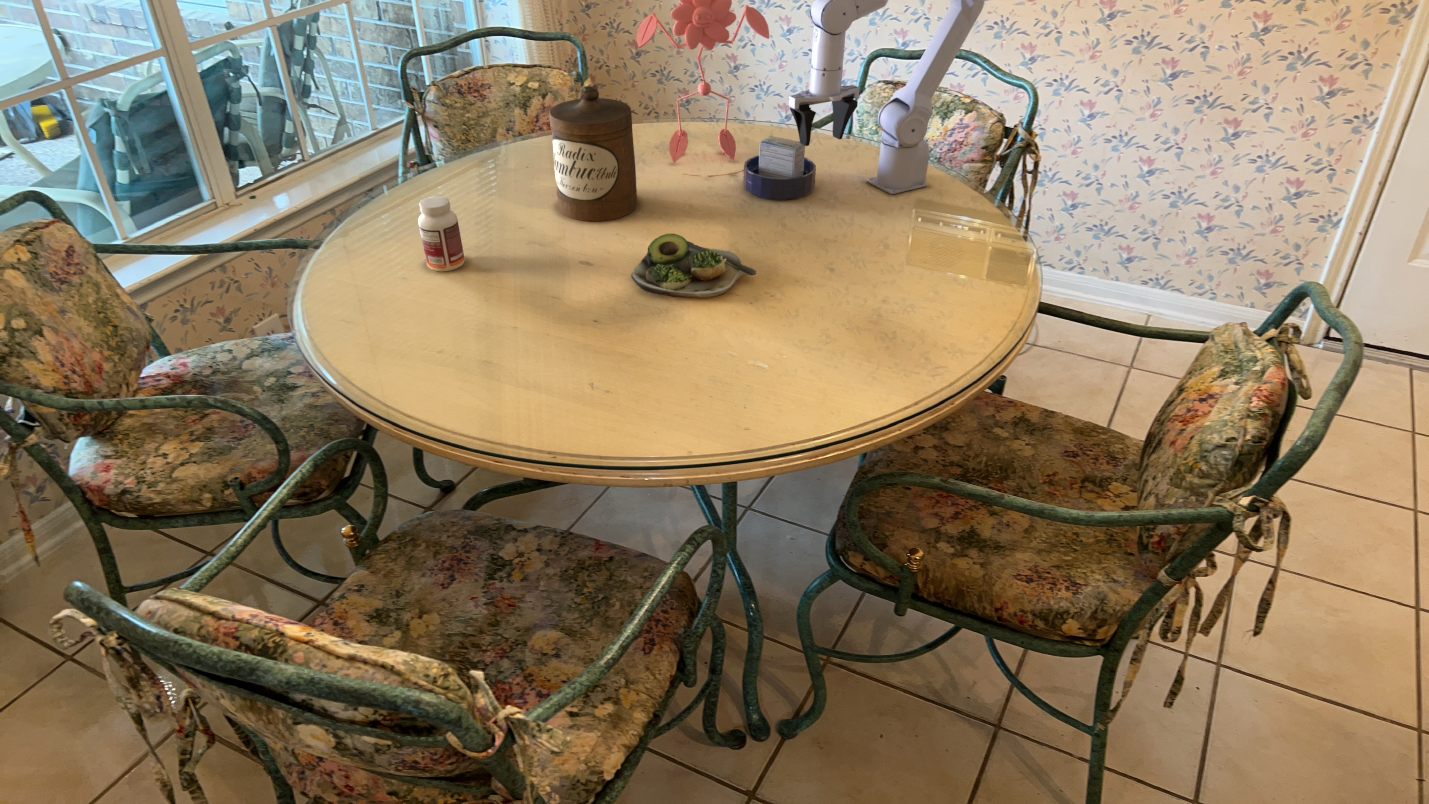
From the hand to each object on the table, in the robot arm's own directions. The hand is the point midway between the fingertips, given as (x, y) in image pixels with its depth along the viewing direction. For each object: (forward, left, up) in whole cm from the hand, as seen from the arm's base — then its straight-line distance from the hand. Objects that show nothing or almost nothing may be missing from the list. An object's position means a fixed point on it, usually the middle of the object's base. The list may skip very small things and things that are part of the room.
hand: (821, 141), depth 170 cm
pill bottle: (+72, -5, -11) cm, 73 cm away
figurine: (+12, -24, -11) cm, 29 cm away
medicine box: (+5, -6, -10) cm, 13 cm away
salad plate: (+39, +18, -11) cm, 44 cm away
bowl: (+5, -6, -10) cm, 13 cm away
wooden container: (+40, -15, -11) cm, 44 cm away
